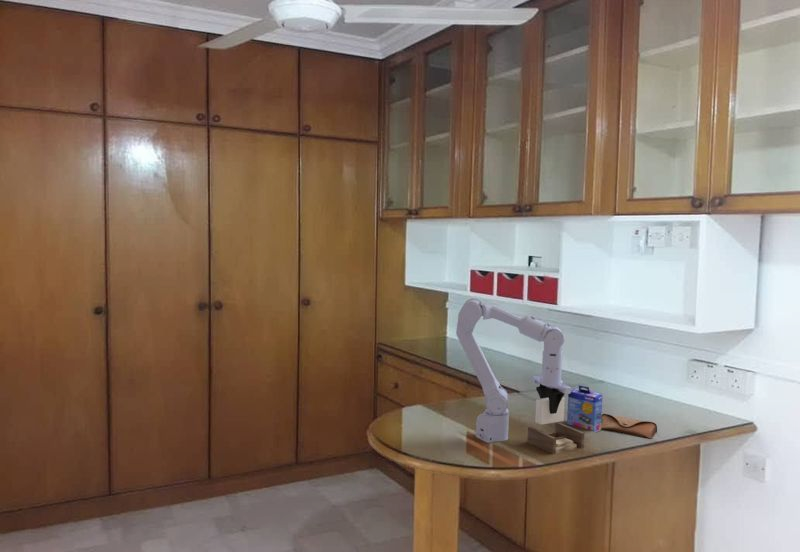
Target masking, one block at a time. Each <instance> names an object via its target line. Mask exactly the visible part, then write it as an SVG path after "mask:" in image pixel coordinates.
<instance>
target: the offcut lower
mask: <svg viewBox="0 0 800 552" xmlns="http://www.w3.org/2000/svg"><path fill="white" fill-rule="evenodd" d="M576 447H577V444H575V443H573V445H568V446H563V447H556V452H558V451H563V450H568V449H572V448H576Z"/></svg>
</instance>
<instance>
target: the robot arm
mask: <svg viewBox="0 0 800 552" xmlns="http://www.w3.org/2000/svg"><path fill="white" fill-rule="evenodd" d="M481 318H482V321H483V320H485V321H486V320H490V319H493V320H496V321H500V322H503V323H504V324H508V325H510V326H512V327H516V328H517V329H518V331H519V333H520V334H521V335H524V336H526V337H528V338H530V339H532V340H535V341H538V342H539V343H540V342H543V351H542V359H541V360H542V361H541V376H539V375H535V376H534V375H533V376H532V381H531V382H532V384H537V385H539V386H536V387H535V388H536V389H535V390H536V392H537V393H538V396H539V399H542V398H549V410H550V413H551V414H554V413H557V409H558V406H559V404H560V401H561V399H562V398H564V396H565V395H568V394H570V393H571V390H572V387H571V386H569V385H568V384H565V383H564V381H563V380H562V369H563V345H564V343H565V339H564V334H563V332H562V330H561V329H560V328H559V327H557V326H556V325H552V324H551V323H550V322H547V323H545V322H543V321H541V320H539V319H537V317H536V316H534V315H531V316H530V315H529V316H528V315H526V316H524V317H520V316H518V315H517V314H514V313H512V312H510V311H508V310H505V309H503V308H501V307H499V306H497V305H495V304H492V303H490V302H487V301H484V300H482V301H481V300H480V299H478V298H473V297H472V298H469V299H467V300H466V301H465V302H464V304H463V305H462V307H461V308H460V310H459V312H458V315H457V324H456V330H455V331H456V332H455V334H456V336H457V340H458V341H459V343H460V345H461V347H462V349H463V351H464V353H465V354H466V357H467V358H468V361H469V363H470V365H471V367H472V368H473V369H472V370H473V371H474V373H475V375H476V377H477V379H478V381H479V383H480V386H481V388H482V392H483V395H484V397H485V399H486V404H485V405H486V407H485V408H484V409H485V410H484V411H483V412H482V413H480V414H479V415H477V417H476V421H475V422H476V424H475V425H476V427H475V437H476V438H477V439H479V440H481V441H483V442H485V443H487V444H488V443H494V442H495V443H496V442H504V441H508V439H509V423H510V421H509V420H510V410H509V409H508V406H509V405H508V402H509V394H508V391H507V390H506V389H505V388H504V387H503V386H501V383H499V381H498V379H497V378H496V376H495V374H494V372H493V370H492V368H491V366H490V365H489V362H488V360H487V359H486V358H487V357H486V356H485V353H484V352H483V350H482V348H481V346H480V345H479V342H478V340H477V338H476V336H475V333H474V329H475V326H476V325H477V324H478V322H479V320H480V319H481Z"/></svg>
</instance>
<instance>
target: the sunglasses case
mask: <svg viewBox="0 0 800 552" xmlns="http://www.w3.org/2000/svg"><path fill="white" fill-rule="evenodd" d="M600 431H608V432H611V433H612V432H613V433H618V434H619V433H620V434H623V433H624V434H625V435H629V436H634V437H640V438H645V439H650V440H653V438H654V437H655V435H656V434H657V433H658V427H657V424H656V422H653V421H650V420H649V421H647V420H646V421H645V420H639V419H633V418H629V417H628V418H627V417H622V416H615V415H612V414H608V413H602V416H601V430H600ZM624 434H623V435H624Z"/></svg>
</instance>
